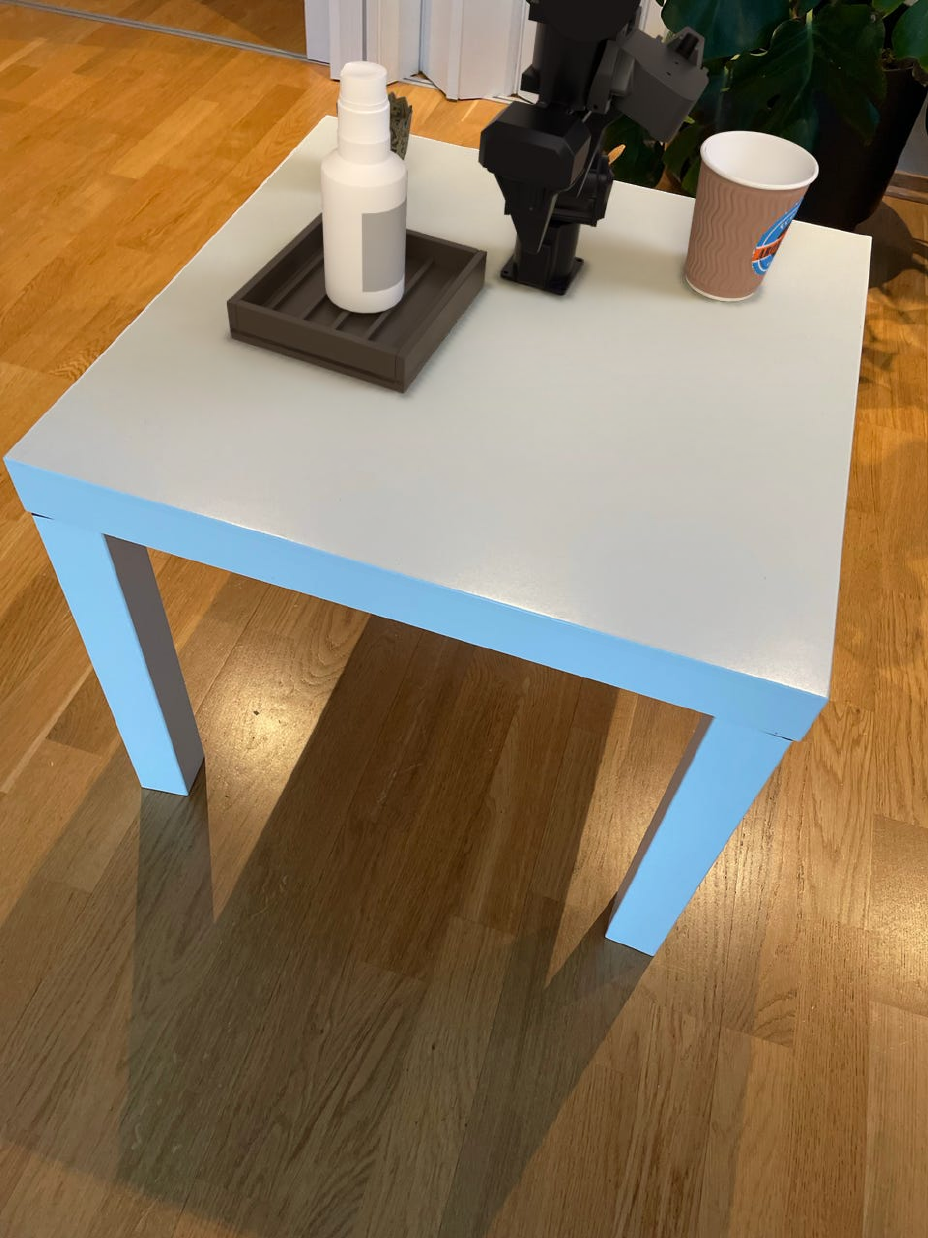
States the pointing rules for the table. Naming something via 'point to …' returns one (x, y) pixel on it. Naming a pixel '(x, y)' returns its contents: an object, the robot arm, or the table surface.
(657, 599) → the table surface
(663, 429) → the table surface
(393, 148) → the cup
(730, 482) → the table surface
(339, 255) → the spray bottle
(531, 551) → the table surface
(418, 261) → the ribbed square tray
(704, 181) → the coffee cup
